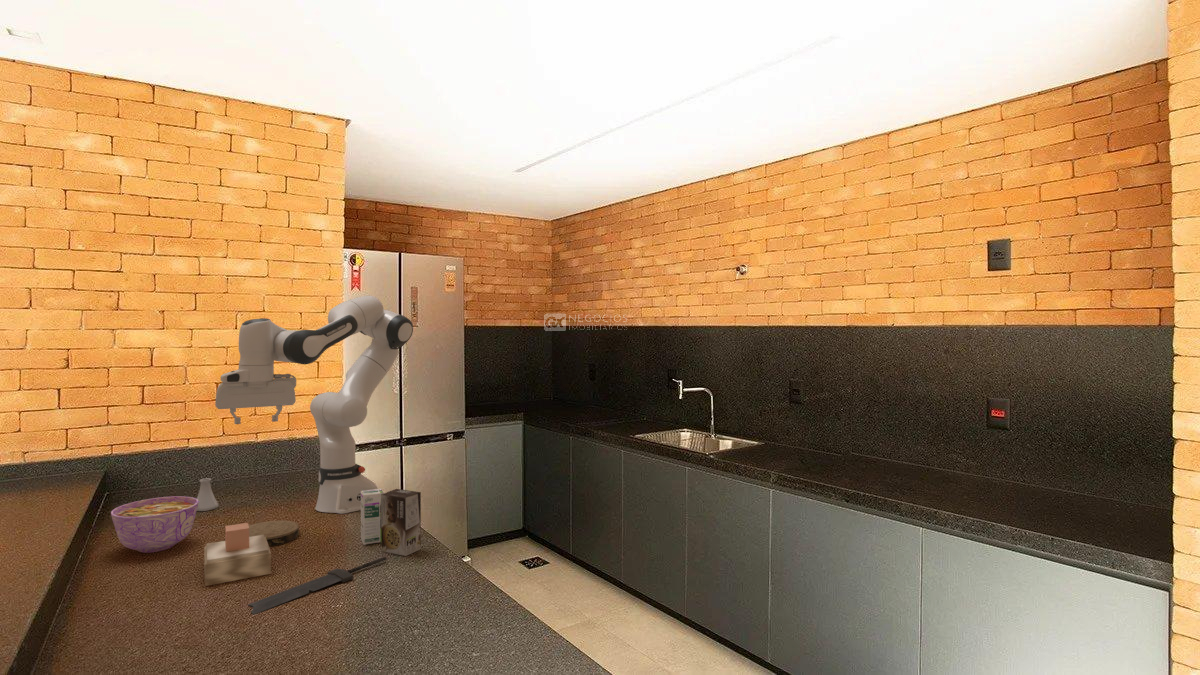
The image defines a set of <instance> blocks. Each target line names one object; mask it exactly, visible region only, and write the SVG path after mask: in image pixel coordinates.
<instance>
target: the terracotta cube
mask: <svg viewBox="0 0 1200 675" xmlns="http://www.w3.org/2000/svg"><path fill="white" fill-rule="evenodd" d="M249 525H250V524H249V523H248V522H243V523H238V524H237V523H236V524H231V525H225V527H224V529H225V530H224V532H225V538H224V539H225V540H224V541H225V546H226V552H227V551H233V550H239V549H245V548H249Z"/></svg>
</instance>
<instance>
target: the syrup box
mask: <svg viewBox="0 0 1200 675" xmlns="http://www.w3.org/2000/svg"><path fill="white" fill-rule="evenodd" d="M381 494H384V491H383V489H382V488H378V489H374V490H365V491H361V510H360V539H361V542H362V545H363V546H366V545H370V544H371V545H372V544H379V543H382V539H381Z"/></svg>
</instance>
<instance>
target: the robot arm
mask: <svg viewBox="0 0 1200 675" xmlns="http://www.w3.org/2000/svg"><path fill="white" fill-rule="evenodd" d="M240 325H241V326H240V329H239V334H238V351H239V356H240V358H239V362H238V369H235V370H230V371H229V372H225V373H223V374H221V375H220V381H221V383H219V384H218V386H217V389H216V394H215V403H214V404H215V408H216V409H217V410H228V409H229V413H230V414H231V415H232V417H233V419H234V420H233V421H234V425H241V419H242V418H241V416H239V417H238V416H237V415H236V412H237V409H247V408H263V407H264V408H265V407H275V409H276V410H277V411H276V412H275V414H272V415H271V422H272V423H273V422H275V423H276V422H279V416H280V413H281V412H282V410H283V406H293V405H294V404H295V403H296V402H297V401H296V399H297V398H296V391H295V388H296V387H297V378H296V377H295V375H292V374H291V373H285V374H284V373H283V374H282V373H274V371H275V370H274V369H275V368H274V362H283V363H293V364H298V365H311V364H313V363H314V362H316V361H317V360H318V359H319V358H320V357H321V356H322V355H323V353H325V351H327V350H328V349H330V348H331V347H333V346H335V345H336V344H338V343H340V342H342V341H343V340H345V339H347V338H349V337H351V336H354V335H355V334H358V333H361V334H363V335H365V336H368V337H370V338H371V342H370V344H369V345H368V347H366V349H365V350H364V351H363V352H362V353H361V354H360V355H359V357H358V358H357V359H356V360H355V362H353V364H352V365H351V366H350V368H349V369H348V370H347V371H346V373H345V380H344V383H343V385H342V387H341V389H339V391H337V392H335V391H327V392H322V393H319V394H317V395H315V397H314V398H313V399H312V400H311V402H310V405H309V411H310V414H311V415H312V417H313V419H314V422H315V426H316V431H317V434H318V439H319V447H320V448H319V449H320V450H319V453H320V454H319V455H320V457H319V458H320V460H319V462H320V466H319V467H318V485H319V489H318V495H317V500H316V505H315V508H314V509H315V511H317V512H320V513H321V512H322V513H331V514H332V513H335V514H340V515H342V514H343V515H344V514H348V513H353V512H357V511H361V491H365V490H374V489H379V488H378V486H377V484H376V483H375V482H374V481H373V480H371V479H369V478H368V477H366V476H365V475H363V473H365V472H366V467H365V466H363V465H360V464H358V463H356V441H355V438H354V437H353V435H352V432H351V428H353V427H357V426H359V425H361V424H362V423H363V422H364V421H365V420H366V418H367V416H368V407H367V406H368V403H369V401H370V400H371V397H372V395H373V393H374V391H375V390H376V388H377V387H378V386H379V384H381V381H382V380H383V379H384V378H385V376H387V374H388V372H389V371H390V370H391V368H392V366H393V365H394V364H395V362H396V360H397V358H398V355H399V349H401V348H403V346H405V345H406V344H407V342H409V340H410V339H411V337H412V335H413V332H414V326H413V325H414V324H413V322H412V320H411V319H409V318H408V317H407V316H404V315H402V314H399V313H397V312H394V311H392V310H390V309H388V310H387V309H384V305H383V303H382V302H381V300H380V299H379V298H377V297H376V296H374V295H362V296H358V297H353V298H350V299H348V300H346V301H342V302H341V303H338V304H337V305H335V306H334V307H332V308H331V309H330V310H329V311H328V314H327V324H326V325H323V326H321V327H319V328H318V329H300V330H298V329H297V330H296V329H294V330H293V329H286V328H284V327H281V326H279V325H278V324H275V323H274V322H273V321H272V320H271V319H270V318H268V317H267V318H265V317H264V318H263V317H261V318H260V317H259V318H252V319H247V320H245V321H243V322H242V324H240Z"/></svg>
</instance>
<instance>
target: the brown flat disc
mask: <svg viewBox="0 0 1200 675" xmlns="http://www.w3.org/2000/svg"><path fill="white" fill-rule="evenodd" d="M248 525H249V537H252V536H258V535H264V537H266V539H267V542H268V545H269V548H270V547H271V548H272V547H276V546H280V545H284V544H286V543H290V542H292V541H294V540H296V539H297V538H298V537H299V534H300V530H299V529H300V527H299V523H297V522H295V521H292V520H282V519H281V520H269V521H267V520H266V521H263V522H262V521H261V522H257V523H253V524H248Z"/></svg>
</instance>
